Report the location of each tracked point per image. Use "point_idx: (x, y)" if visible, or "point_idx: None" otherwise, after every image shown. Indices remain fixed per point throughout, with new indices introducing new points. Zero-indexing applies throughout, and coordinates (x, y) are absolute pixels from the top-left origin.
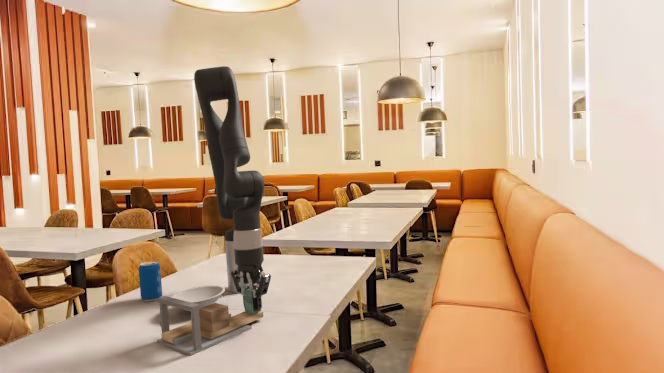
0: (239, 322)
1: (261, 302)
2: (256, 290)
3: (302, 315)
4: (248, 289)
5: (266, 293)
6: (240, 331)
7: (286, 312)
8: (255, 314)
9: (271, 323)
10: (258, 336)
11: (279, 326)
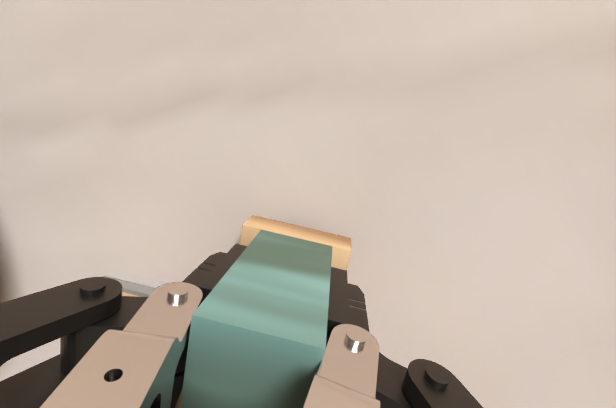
0: None
1: (365, 311)
2: None
3: (562, 91)
4: (205, 383)
5: (446, 371)
6: None
7: (422, 73)
8: None
9: (419, 260)
10: None
11: (486, 285)
